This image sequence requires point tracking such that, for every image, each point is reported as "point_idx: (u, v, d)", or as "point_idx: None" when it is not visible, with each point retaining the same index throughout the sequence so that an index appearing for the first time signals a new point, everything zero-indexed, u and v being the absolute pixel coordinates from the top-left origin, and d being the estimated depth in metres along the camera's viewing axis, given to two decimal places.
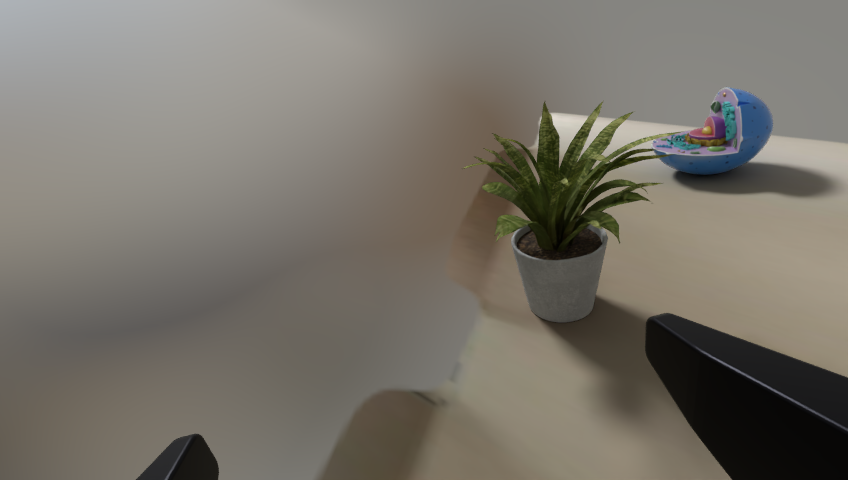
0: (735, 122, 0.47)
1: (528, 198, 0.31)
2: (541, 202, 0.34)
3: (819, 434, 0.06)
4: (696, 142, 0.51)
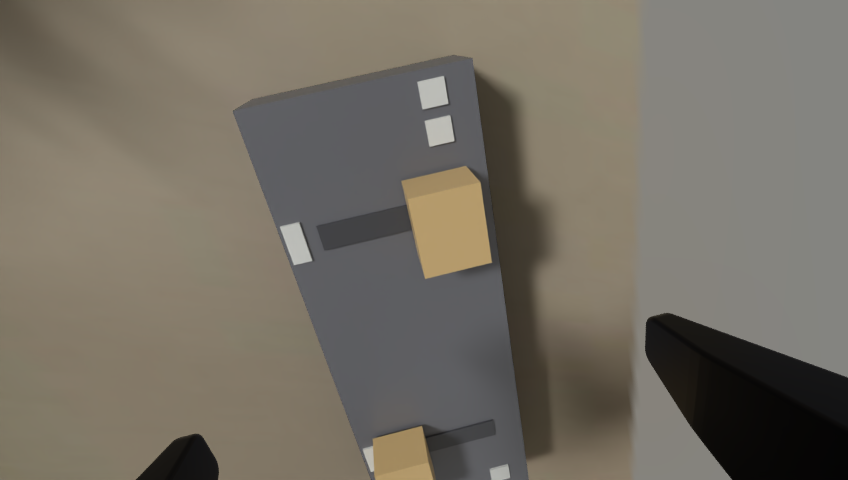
0: None
1: None
2: None
3: (819, 434, 0.06)
4: None
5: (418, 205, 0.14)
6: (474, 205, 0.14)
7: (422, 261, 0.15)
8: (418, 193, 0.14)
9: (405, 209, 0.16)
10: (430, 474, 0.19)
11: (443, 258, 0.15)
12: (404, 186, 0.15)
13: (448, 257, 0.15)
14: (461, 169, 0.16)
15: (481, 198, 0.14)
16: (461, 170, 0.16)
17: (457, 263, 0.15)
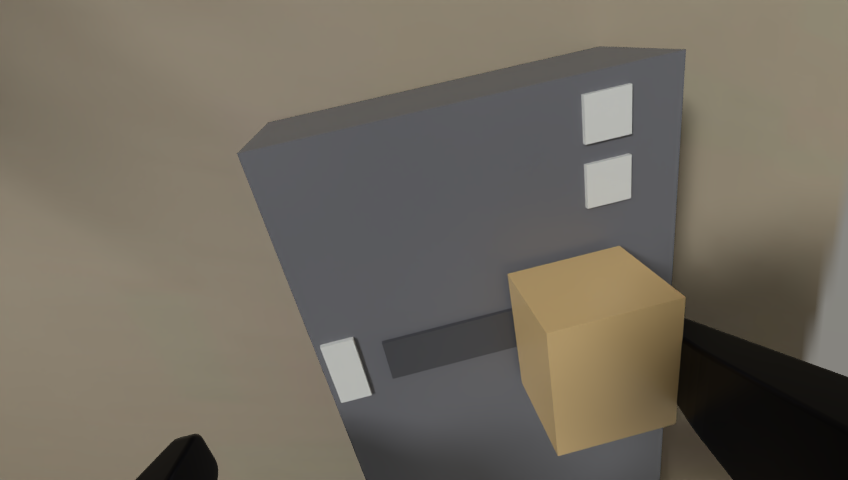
0: None
1: None
2: None
3: (820, 434, 0.06)
4: None
5: (564, 342, 0.07)
6: (666, 336, 0.08)
7: (557, 431, 0.08)
8: (563, 318, 0.07)
9: None
10: None
11: (594, 423, 0.08)
12: (521, 291, 0.08)
13: (604, 421, 0.08)
14: (615, 253, 0.09)
15: (681, 324, 0.07)
16: (617, 256, 0.09)
17: (617, 429, 0.08)
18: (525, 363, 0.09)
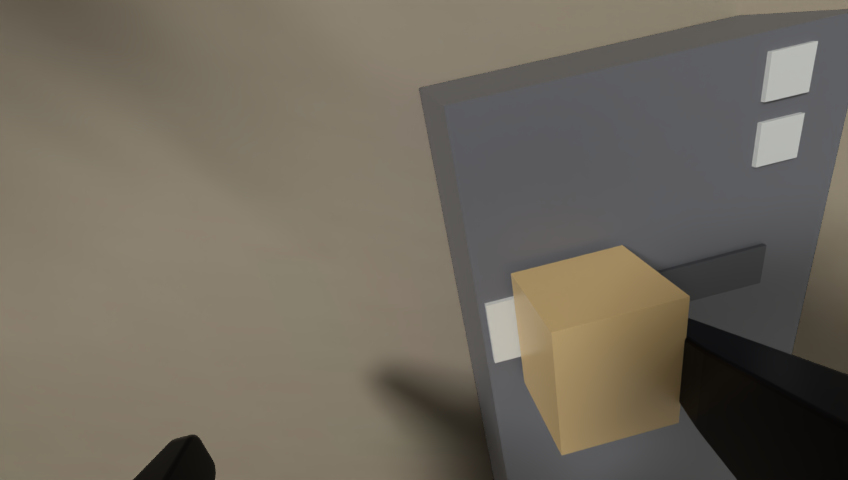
0: None
1: None
2: None
3: (824, 433, 0.06)
4: None
5: (569, 342, 0.07)
6: (670, 335, 0.08)
7: (561, 430, 0.08)
8: (567, 318, 0.07)
9: (687, 271, 0.10)
10: None
11: (598, 422, 0.08)
12: (525, 290, 0.08)
13: (608, 420, 0.08)
14: (619, 252, 0.09)
15: (685, 323, 0.08)
16: (621, 255, 0.09)
17: (620, 428, 0.08)
18: (528, 362, 0.09)
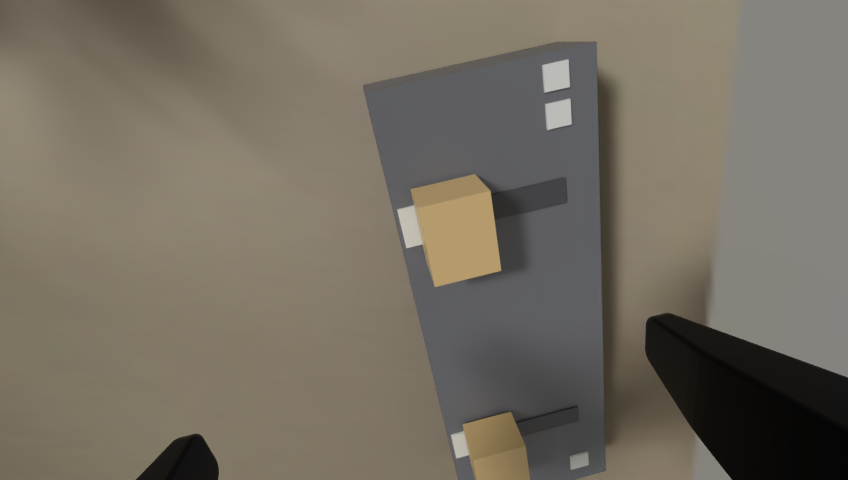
0: None
1: None
2: None
3: (819, 434, 0.06)
4: None
5: (428, 214, 0.14)
6: (484, 214, 0.14)
7: (432, 269, 0.15)
8: (428, 202, 0.14)
9: (518, 192, 0.17)
10: (525, 458, 0.20)
11: (453, 266, 0.15)
12: (414, 195, 0.15)
13: (458, 265, 0.15)
14: (470, 177, 0.16)
15: (491, 207, 0.14)
16: (470, 178, 0.16)
17: (467, 271, 0.15)
18: (422, 242, 0.16)
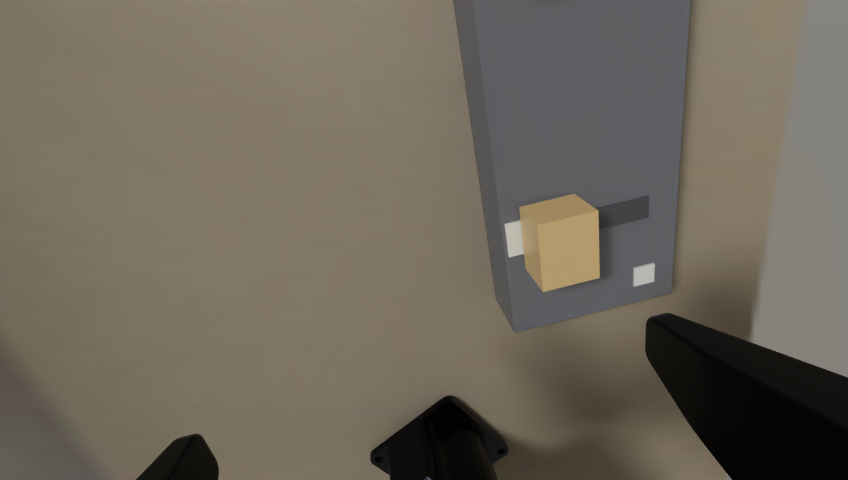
0: None
1: None
2: None
3: (819, 434, 0.06)
4: None
5: None
6: None
7: None
8: None
9: None
10: (597, 229, 0.17)
11: None
12: None
13: None
14: None
15: None
16: None
17: None
18: None
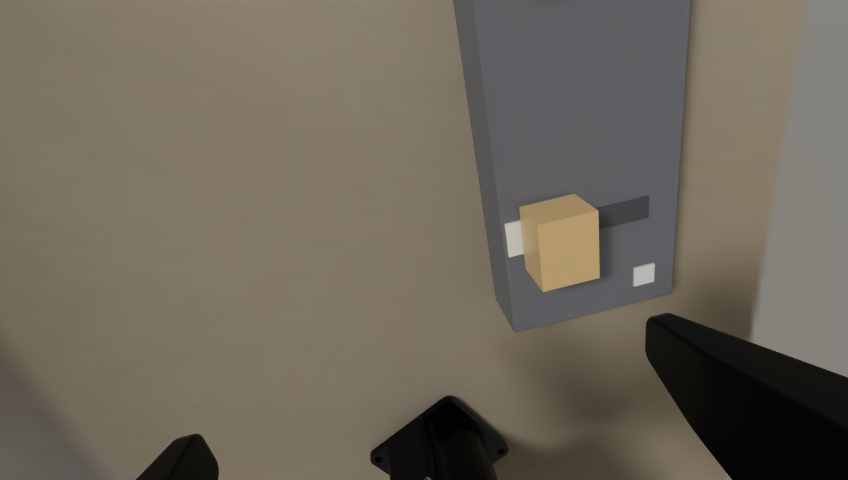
0: None
1: None
2: None
3: (819, 434, 0.06)
4: None
5: None
6: None
7: None
8: None
9: None
10: (597, 229, 0.17)
11: None
12: None
13: None
14: None
15: None
16: None
17: None
18: None
